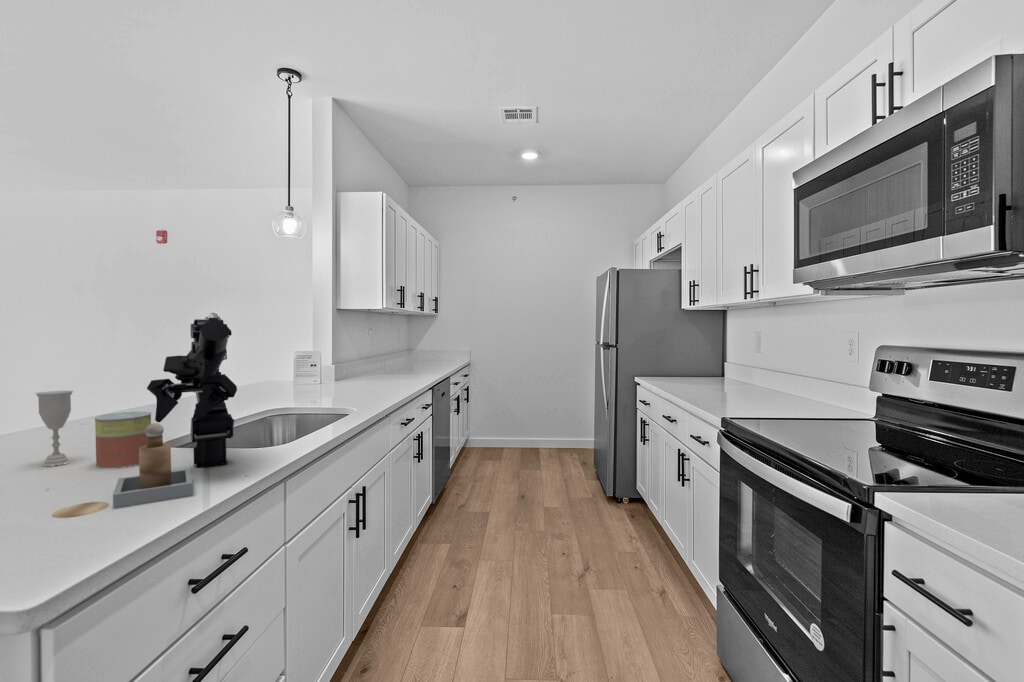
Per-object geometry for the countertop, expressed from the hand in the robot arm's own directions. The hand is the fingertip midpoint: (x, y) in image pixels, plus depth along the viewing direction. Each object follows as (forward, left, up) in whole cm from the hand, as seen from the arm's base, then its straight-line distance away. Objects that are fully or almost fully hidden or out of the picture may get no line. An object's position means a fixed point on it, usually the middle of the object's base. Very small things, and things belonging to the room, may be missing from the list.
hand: (175, 420), depth 109 cm
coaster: (+15, +11, -14) cm, 23 cm away
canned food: (+11, -28, -14) cm, 33 cm away
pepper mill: (+4, +8, -13) cm, 16 cm away
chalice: (+25, -36, -14) cm, 46 cm away
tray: (+4, +8, -14) cm, 16 cm away
